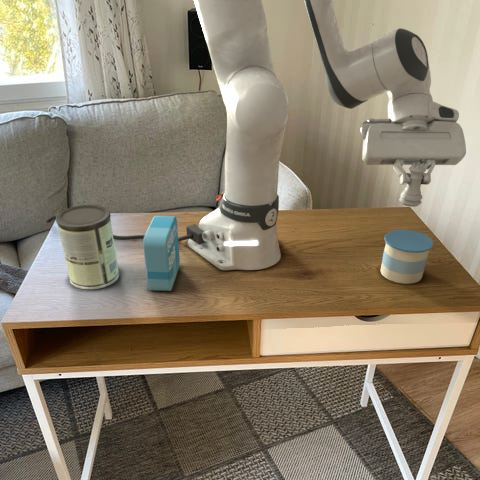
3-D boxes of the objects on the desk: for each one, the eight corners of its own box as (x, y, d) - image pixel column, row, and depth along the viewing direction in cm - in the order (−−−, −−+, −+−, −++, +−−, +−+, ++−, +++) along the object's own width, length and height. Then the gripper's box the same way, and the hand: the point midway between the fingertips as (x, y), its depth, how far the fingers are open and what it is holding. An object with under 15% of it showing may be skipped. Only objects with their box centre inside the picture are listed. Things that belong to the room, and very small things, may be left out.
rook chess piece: (395, 203, 102) (403, 165, 98) (403, 197, 105) (411, 159, 101) (416, 209, 100) (426, 169, 96) (424, 202, 103) (433, 163, 99)
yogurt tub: (369, 273, 108) (375, 240, 104) (392, 257, 114) (399, 225, 109) (411, 290, 103) (419, 255, 98) (432, 272, 109) (441, 239, 104)
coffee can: (71, 267, 109) (58, 205, 101) (119, 263, 110) (111, 203, 102) (66, 292, 101) (52, 227, 92) (118, 288, 102) (109, 224, 94)
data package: (170, 294, 101) (166, 240, 94) (148, 293, 101) (142, 239, 94) (180, 264, 110) (176, 213, 103) (159, 263, 110) (155, 213, 103)
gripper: (364, 110, 98) (368, 176, 96) (466, 110, 99) (472, 176, 97) (356, 127, 105) (359, 189, 102) (452, 128, 105) (457, 190, 103)
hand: (415, 183), depth 100 cm, fingers closed on rook chess piece, 3 cm apart
